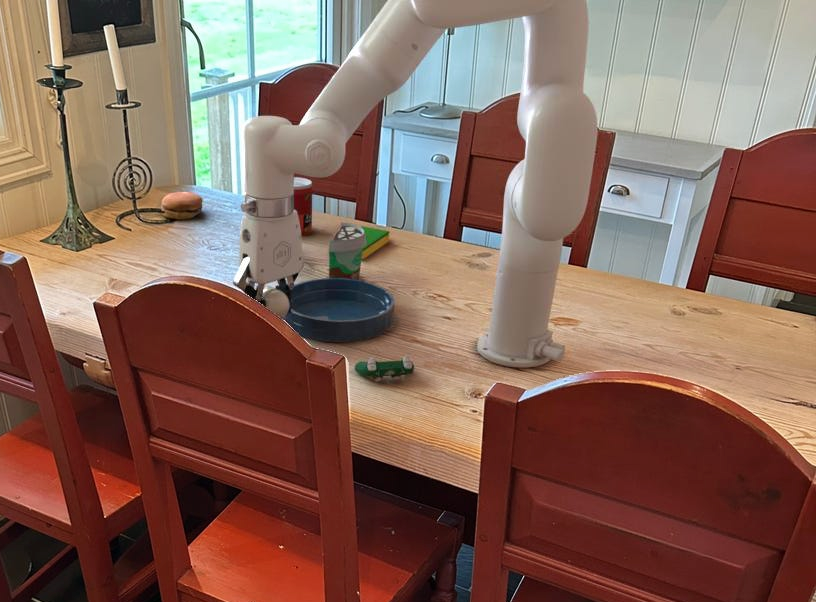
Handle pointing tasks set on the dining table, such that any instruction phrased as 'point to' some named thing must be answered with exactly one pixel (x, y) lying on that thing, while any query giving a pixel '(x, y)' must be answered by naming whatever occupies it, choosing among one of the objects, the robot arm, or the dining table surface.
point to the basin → (340, 309)
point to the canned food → (303, 203)
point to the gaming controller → (385, 368)
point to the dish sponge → (374, 240)
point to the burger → (181, 205)
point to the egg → (276, 301)
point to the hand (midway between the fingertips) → (270, 314)
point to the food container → (346, 252)
